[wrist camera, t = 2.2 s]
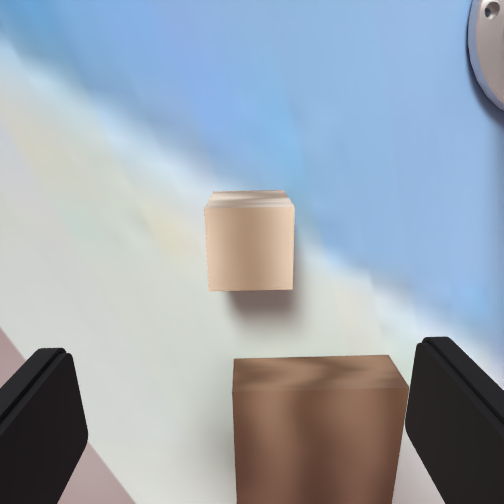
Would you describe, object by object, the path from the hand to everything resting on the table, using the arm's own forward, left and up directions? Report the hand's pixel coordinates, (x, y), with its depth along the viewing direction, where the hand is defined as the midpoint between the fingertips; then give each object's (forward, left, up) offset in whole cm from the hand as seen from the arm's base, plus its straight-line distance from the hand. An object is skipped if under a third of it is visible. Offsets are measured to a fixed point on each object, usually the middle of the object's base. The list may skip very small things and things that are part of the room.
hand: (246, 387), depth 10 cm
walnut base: (-5, +18, -17) cm, 25 cm away
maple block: (0, 0, -17) cm, 17 cm away
